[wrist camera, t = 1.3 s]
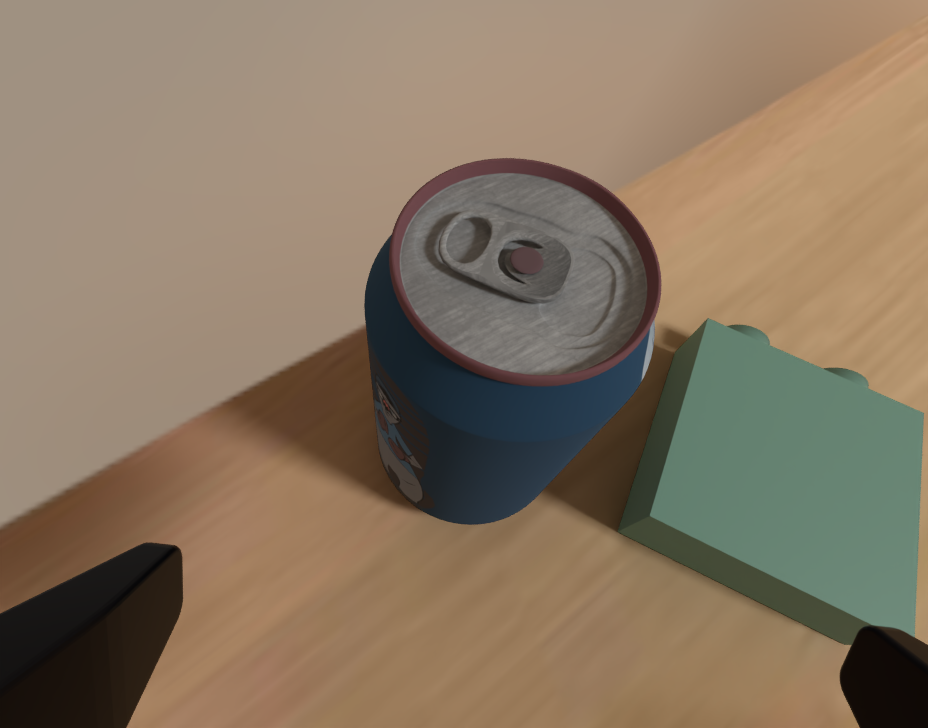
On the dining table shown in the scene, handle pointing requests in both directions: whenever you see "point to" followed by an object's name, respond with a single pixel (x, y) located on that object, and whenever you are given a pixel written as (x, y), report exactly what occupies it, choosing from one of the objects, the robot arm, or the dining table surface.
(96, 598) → the robot arm
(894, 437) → the base brick
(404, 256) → the soda can
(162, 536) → the dining table surface
